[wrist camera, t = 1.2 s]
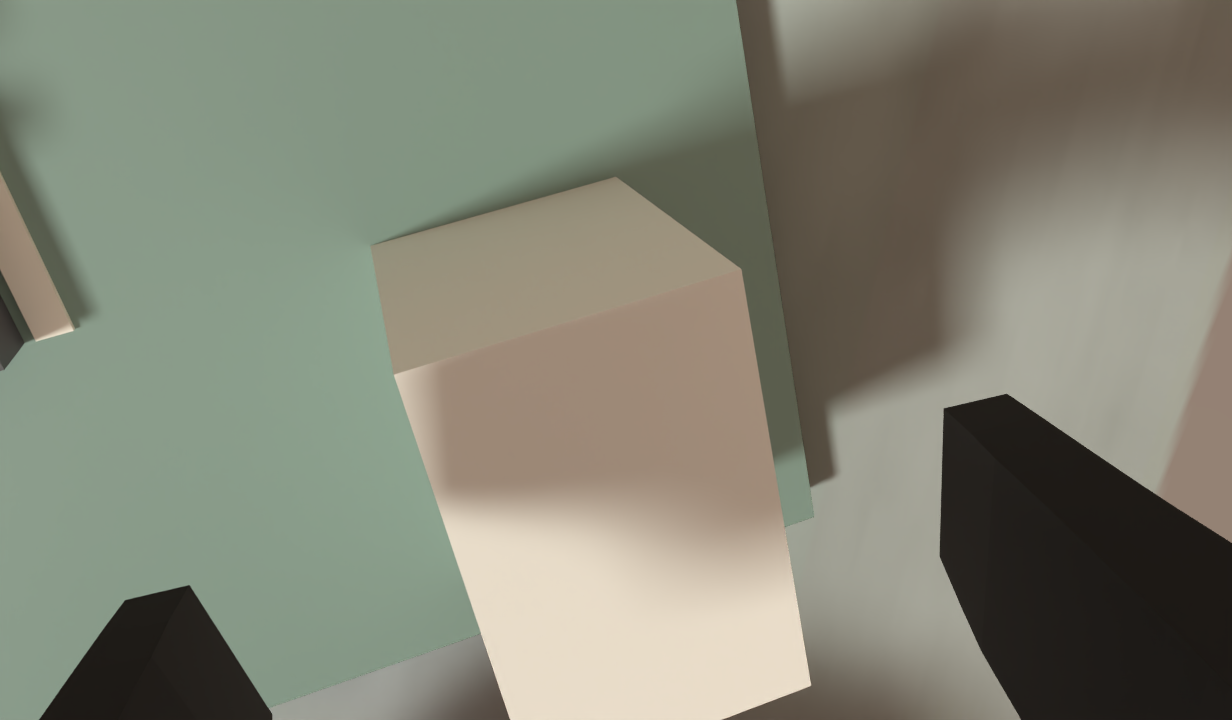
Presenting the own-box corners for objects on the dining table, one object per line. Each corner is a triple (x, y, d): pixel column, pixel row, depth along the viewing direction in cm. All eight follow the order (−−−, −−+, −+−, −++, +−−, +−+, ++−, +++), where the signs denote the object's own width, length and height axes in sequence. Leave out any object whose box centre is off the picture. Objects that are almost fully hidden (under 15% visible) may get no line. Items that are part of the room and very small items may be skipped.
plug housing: (685, 500, 21) (811, 685, 16) (476, 570, 20) (534, 790, 15) (616, 176, 18) (741, 269, 13) (370, 245, 17) (394, 375, 12)
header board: (795, 494, 23) (915, 631, 18) (-138, 817, 20) (-278, 1082, 15) (640, -477, 16) (777, -662, 11) (-898, -213, 12) (-1631, -316, 8)
